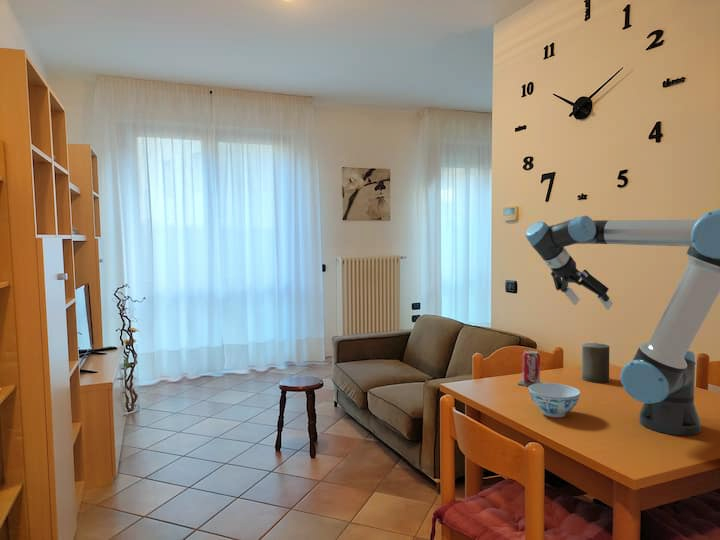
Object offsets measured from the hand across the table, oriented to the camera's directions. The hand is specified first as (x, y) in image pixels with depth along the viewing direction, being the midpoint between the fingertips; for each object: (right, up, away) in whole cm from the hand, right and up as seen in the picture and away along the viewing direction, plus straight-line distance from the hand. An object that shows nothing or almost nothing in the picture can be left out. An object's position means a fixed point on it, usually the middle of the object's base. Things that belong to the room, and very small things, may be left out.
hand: (592, 304), depth 165 cm
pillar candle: (+13, -32, +25) cm, 42 cm away
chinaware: (-19, -34, -13) cm, 41 cm away
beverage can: (-14, -32, +19) cm, 39 cm away
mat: (-14, -32, +19) cm, 40 cm away
